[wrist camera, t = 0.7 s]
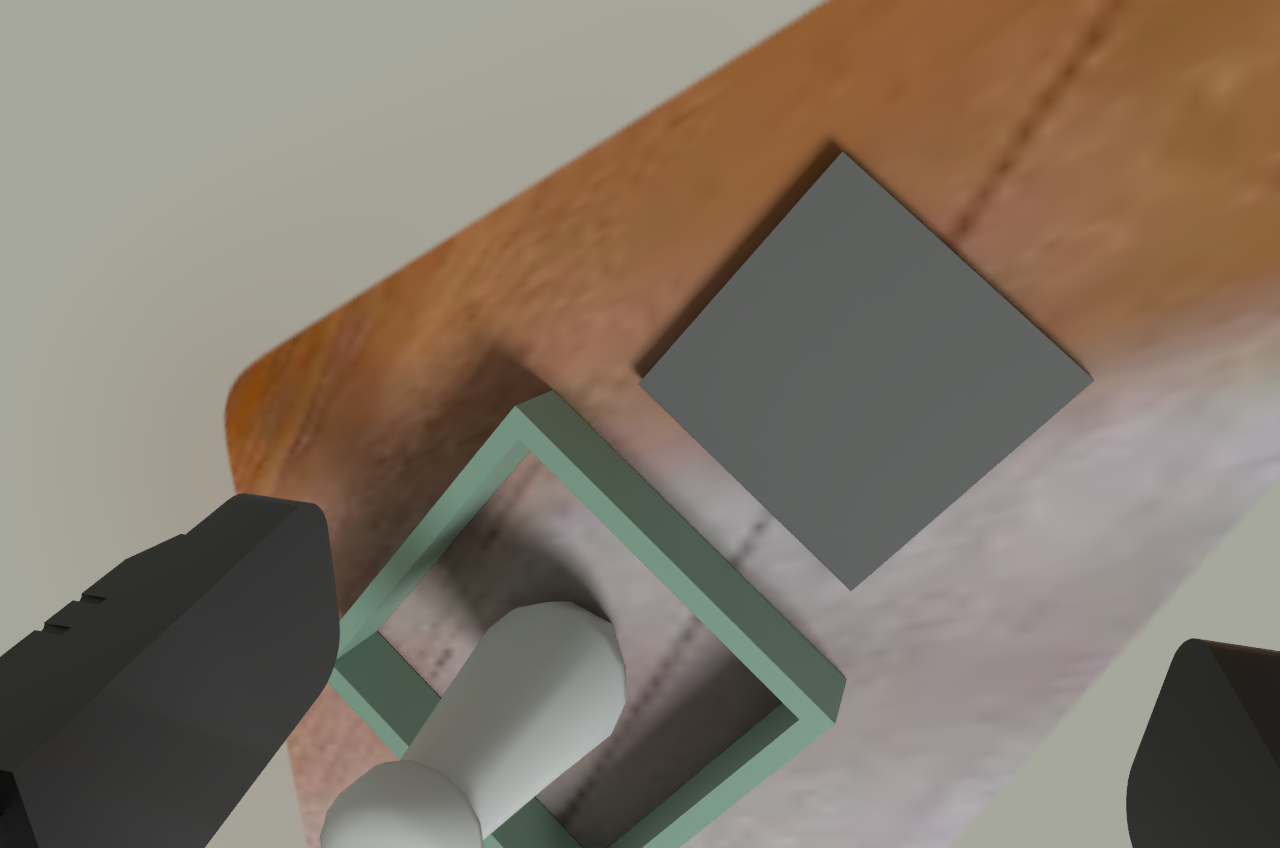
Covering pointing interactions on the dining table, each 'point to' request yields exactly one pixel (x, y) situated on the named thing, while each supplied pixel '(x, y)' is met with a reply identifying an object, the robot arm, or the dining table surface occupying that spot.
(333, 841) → the salt shaker
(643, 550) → the square frame
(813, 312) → the rubber mat
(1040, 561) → the dining table surface
